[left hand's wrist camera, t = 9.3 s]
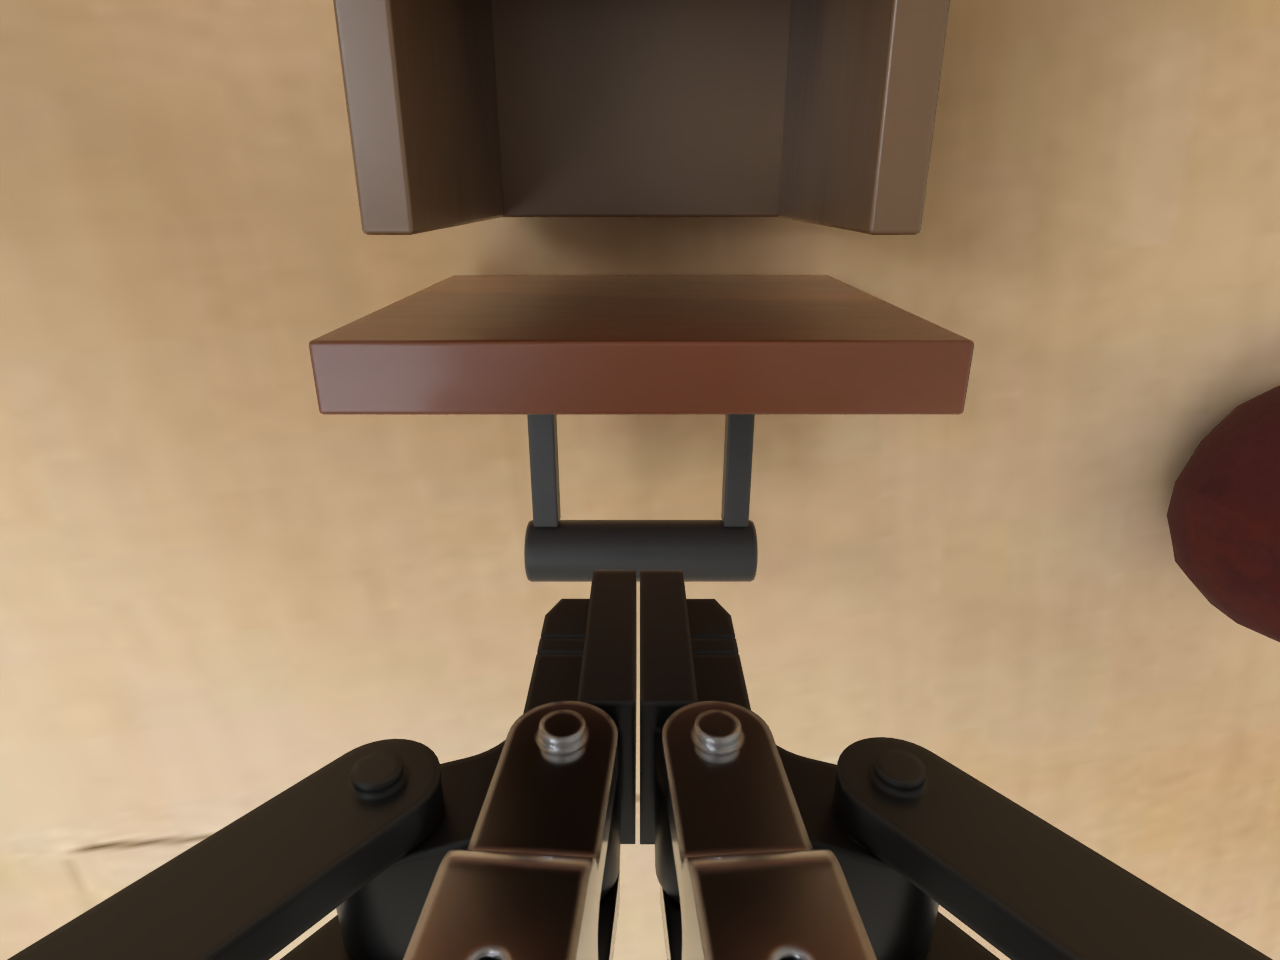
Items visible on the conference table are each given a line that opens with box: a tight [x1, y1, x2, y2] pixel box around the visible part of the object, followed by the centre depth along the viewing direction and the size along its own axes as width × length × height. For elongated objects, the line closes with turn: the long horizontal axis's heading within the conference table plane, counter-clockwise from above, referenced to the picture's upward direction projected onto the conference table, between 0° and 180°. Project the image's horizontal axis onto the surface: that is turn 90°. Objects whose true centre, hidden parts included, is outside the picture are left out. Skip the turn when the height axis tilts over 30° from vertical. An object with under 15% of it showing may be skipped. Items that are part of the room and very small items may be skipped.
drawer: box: [309, 0, 974, 581], centre depth 15 cm, size 21×10×10 cm, turn 0°
